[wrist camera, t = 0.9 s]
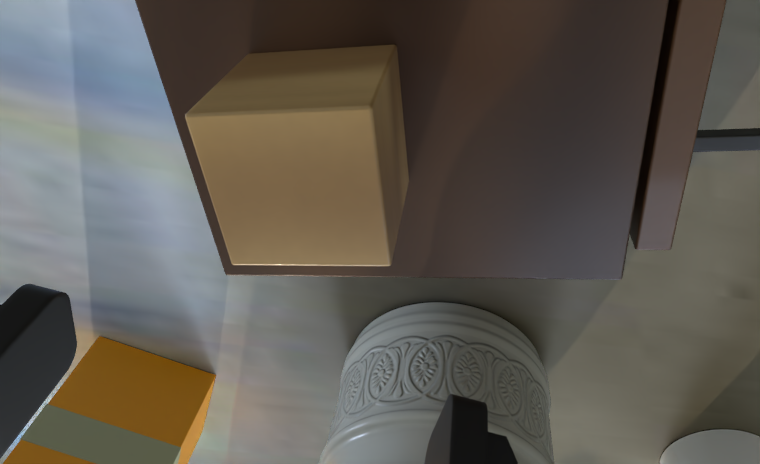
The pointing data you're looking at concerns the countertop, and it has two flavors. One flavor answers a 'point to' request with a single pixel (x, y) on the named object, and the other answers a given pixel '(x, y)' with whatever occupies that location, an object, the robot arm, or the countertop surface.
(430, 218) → the cabinet
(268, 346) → the countertop surface
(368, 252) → the block
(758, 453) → the cylindrical container
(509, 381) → the jar
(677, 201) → the drawer
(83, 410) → the orange juice
